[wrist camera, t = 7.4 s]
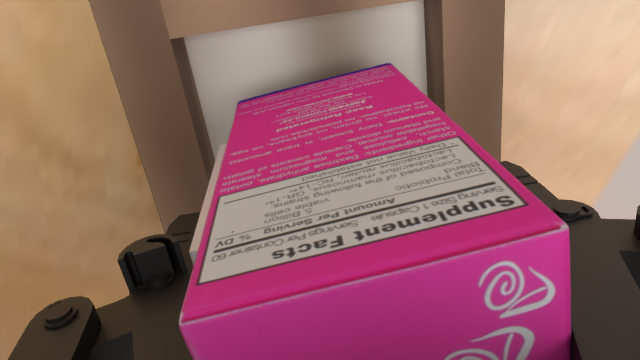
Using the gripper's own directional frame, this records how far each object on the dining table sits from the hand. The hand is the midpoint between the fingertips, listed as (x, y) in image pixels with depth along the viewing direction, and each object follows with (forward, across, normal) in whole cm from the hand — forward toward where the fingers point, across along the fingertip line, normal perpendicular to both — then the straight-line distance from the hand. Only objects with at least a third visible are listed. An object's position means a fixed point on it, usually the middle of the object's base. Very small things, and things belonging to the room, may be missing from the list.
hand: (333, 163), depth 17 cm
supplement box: (+1, 0, 0) cm, 1 cm away
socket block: (+5, 0, 0) cm, 5 cm away
